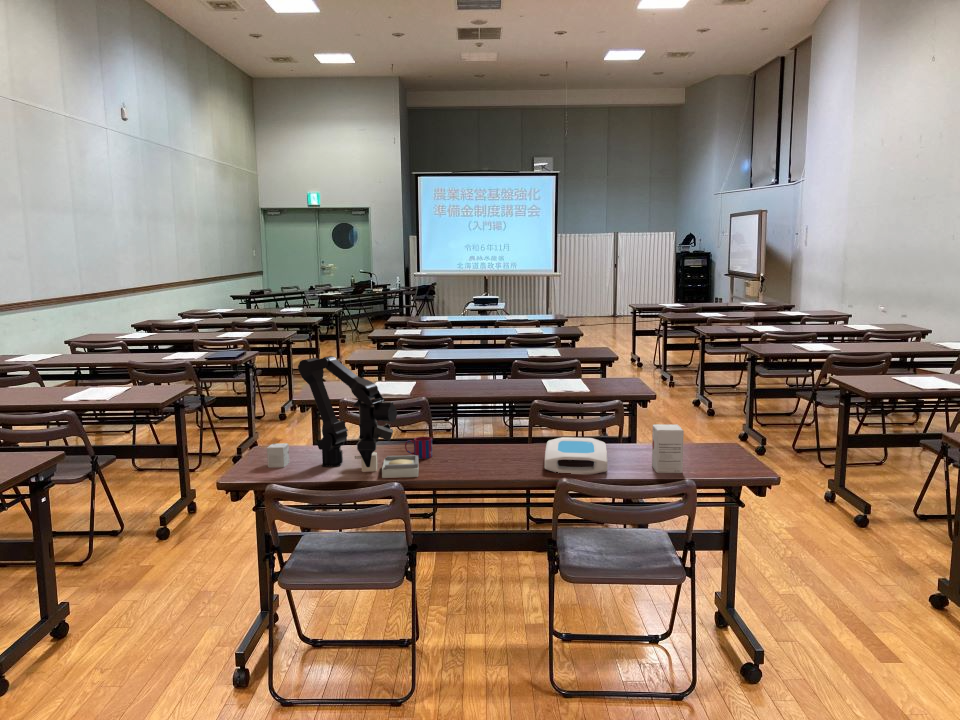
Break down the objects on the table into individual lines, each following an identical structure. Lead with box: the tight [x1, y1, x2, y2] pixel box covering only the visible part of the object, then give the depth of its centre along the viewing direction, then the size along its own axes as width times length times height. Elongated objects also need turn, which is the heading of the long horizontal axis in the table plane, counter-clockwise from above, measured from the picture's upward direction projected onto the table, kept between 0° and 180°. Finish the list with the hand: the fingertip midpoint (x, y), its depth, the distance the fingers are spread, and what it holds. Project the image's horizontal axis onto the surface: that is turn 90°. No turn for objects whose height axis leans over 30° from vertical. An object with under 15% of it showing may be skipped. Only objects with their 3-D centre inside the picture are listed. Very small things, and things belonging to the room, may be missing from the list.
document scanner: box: [544, 436, 608, 476], centre depth 250 cm, size 21×28×6 cm
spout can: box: [354, 451, 378, 473], centre depth 245 cm, size 8×5×6 cm, turn 94°
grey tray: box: [381, 454, 420, 479], centre depth 242 cm, size 12×14×4 cm
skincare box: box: [266, 442, 290, 468], centre depth 251 cm, size 6×6×7 cm
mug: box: [404, 436, 433, 460], centre depth 261 cm, size 7×10×7 cm
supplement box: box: [651, 423, 685, 474], centre depth 240 cm, size 9×9×15 cm
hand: (369, 463), depth 245 cm, fingers open, 9 cm apart
